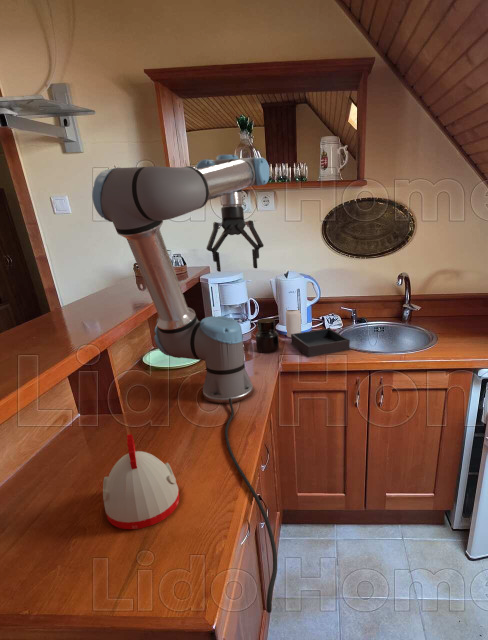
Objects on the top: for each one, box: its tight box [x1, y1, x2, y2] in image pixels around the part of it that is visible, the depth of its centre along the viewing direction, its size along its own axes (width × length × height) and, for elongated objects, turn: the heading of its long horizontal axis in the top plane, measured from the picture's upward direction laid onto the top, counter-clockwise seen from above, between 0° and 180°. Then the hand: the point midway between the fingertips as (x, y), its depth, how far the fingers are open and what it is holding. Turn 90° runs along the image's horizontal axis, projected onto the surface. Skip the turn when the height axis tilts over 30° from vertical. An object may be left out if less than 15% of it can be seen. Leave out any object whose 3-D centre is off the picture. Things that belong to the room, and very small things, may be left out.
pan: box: [290, 328, 350, 358], centre depth 168 cm, size 18×18×4 cm
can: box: [285, 308, 302, 339], centre depth 180 cm, size 6×6×12 cm
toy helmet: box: [102, 433, 181, 530], centre depth 81 cm, size 14×14×15 cm
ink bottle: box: [255, 317, 280, 354], centre depth 165 cm, size 10×9×12 cm
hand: (237, 269), depth 153 cm, fingers open, 13 cm apart
